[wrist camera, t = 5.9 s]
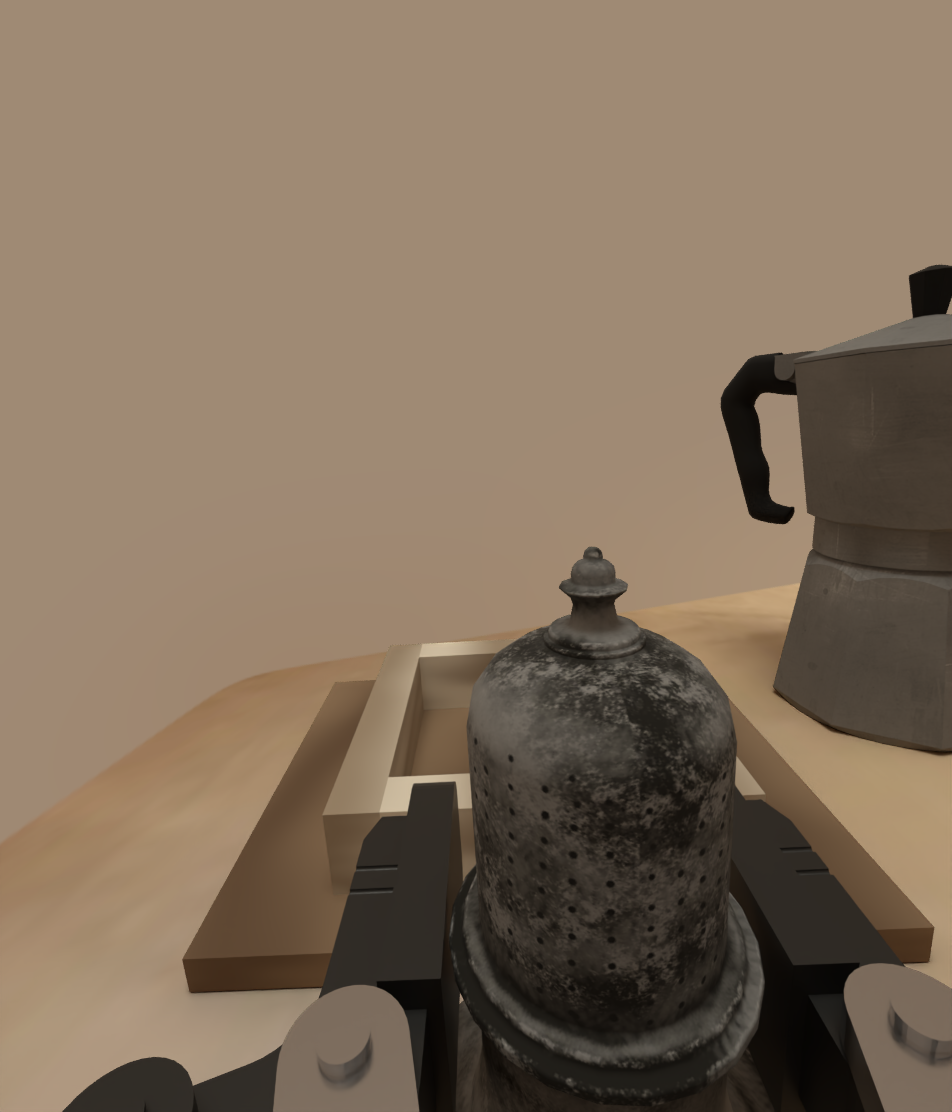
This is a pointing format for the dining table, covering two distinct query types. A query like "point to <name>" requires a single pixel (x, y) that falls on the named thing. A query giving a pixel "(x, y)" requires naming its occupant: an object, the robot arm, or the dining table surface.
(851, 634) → the coffeepot
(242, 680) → the dining table surface
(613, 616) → the salt shaker
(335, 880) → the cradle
